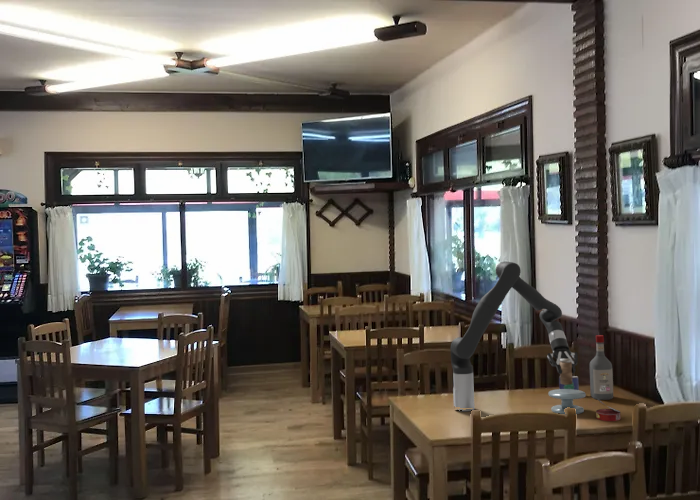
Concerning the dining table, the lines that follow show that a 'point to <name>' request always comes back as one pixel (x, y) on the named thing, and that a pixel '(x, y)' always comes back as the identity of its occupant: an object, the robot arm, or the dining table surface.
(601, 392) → the liquor
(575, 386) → the flask
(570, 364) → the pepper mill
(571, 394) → the cake stand
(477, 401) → the dining table surface
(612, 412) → the canned food
